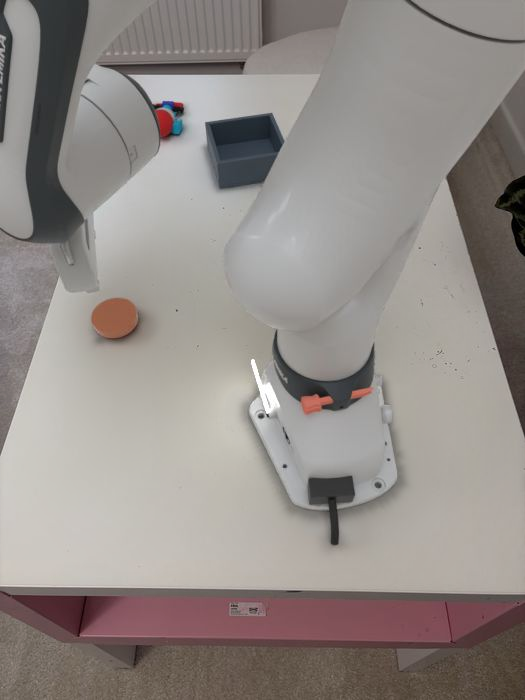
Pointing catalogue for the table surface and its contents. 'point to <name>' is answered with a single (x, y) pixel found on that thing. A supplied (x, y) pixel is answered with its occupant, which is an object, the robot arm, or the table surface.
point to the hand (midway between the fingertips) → (91, 262)
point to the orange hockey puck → (114, 317)
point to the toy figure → (169, 117)
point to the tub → (243, 148)
